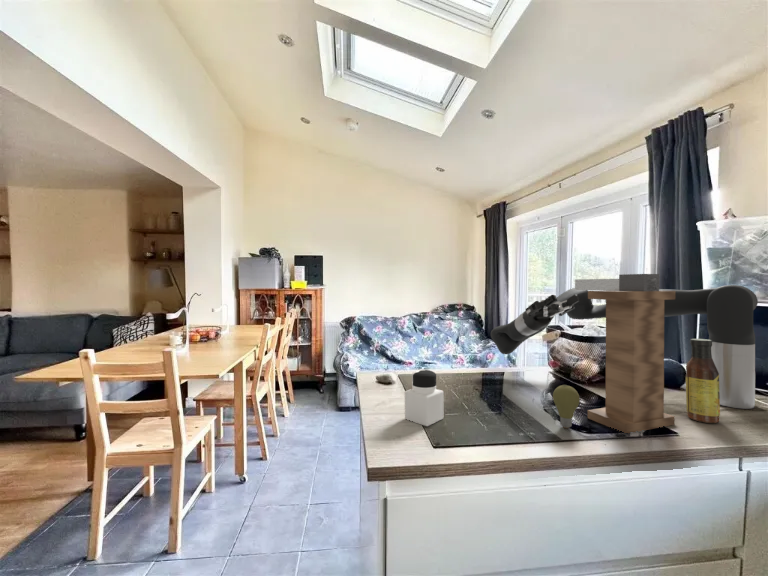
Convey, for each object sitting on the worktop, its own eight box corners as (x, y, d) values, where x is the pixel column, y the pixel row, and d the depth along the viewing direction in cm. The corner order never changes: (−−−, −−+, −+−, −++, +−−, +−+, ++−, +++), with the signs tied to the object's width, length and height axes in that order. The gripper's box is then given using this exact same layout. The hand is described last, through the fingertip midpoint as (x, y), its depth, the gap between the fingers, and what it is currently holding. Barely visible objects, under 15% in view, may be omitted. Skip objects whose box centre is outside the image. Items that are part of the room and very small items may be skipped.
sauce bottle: (726, 425, 85) (727, 342, 85) (696, 423, 86) (696, 341, 86) (707, 415, 91) (708, 338, 91) (679, 413, 92) (680, 337, 92)
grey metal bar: (585, 289, 102) (585, 275, 102) (659, 291, 83) (659, 274, 83) (572, 290, 101) (572, 275, 101) (643, 291, 82) (644, 273, 82)
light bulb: (569, 434, 80) (569, 390, 80) (547, 425, 85) (547, 384, 85) (584, 429, 83) (584, 386, 82) (563, 421, 88) (563, 381, 87)
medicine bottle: (444, 418, 90) (444, 371, 90) (427, 427, 85) (427, 376, 84) (421, 411, 95) (421, 366, 94) (404, 419, 89) (403, 371, 89)
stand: (633, 410, 95) (634, 290, 95) (674, 424, 85) (675, 290, 85) (587, 418, 90) (587, 290, 89) (625, 433, 80) (626, 291, 80)
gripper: (553, 330, 119) (590, 308, 106) (518, 331, 114) (552, 308, 101) (544, 310, 123) (579, 286, 109) (510, 310, 118) (542, 285, 105)
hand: (566, 297), depth 105 cm, fingers open, 8 cm apart
